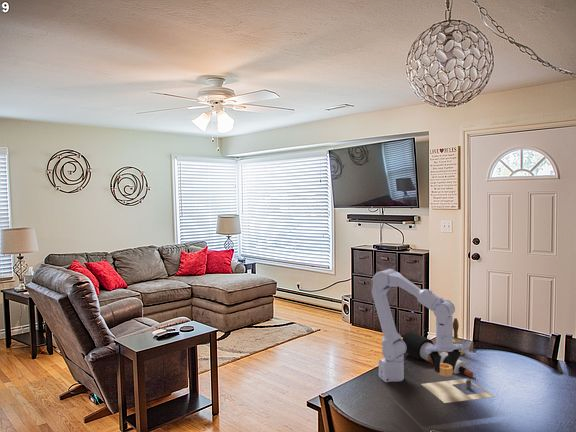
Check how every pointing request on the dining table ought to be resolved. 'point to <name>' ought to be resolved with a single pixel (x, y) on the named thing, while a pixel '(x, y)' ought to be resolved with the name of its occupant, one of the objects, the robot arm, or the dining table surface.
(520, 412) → the dining table surface
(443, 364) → the orange hexagonal nut
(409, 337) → the cable
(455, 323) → the hand bell
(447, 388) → the cream flat rectangular board
